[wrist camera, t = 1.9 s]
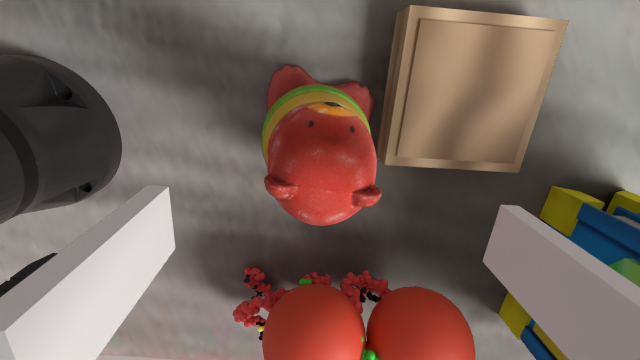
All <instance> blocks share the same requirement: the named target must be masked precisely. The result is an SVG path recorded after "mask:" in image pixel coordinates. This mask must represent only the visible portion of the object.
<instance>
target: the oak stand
mask: <svg viewBox="0 0 640 360" xmlns="http://www.w3.org/2000/svg"><path fill="white" fill-rule="evenodd" d="M568 23H569V20H563V19H552V18H542V17H531V16H521V15H511V14H500V13H490V12H479V11H469V10H458V9H448V8H438V7H427V6H417V5H409V6H408V7H406V8H404V9H402V10H400V11H398V12H397V16H396V22H395V29H394V36H393V43H392V49H391V56H390V63H389V70H388V76H387V83H386V90H385V97H384V103H383V110H382V117H381V124H380V131H379V137H378V144H377V151H376V154H377V155H378V157H379V158H380V159H381V161H382V162H383V163H384V165H394V166H411V167H428V168H445V169H461V170H478V171H495V172H512V173H519V170H520V167H521V164H522V161H523V158H524V155H525V152H526V149H527V146H528V143H529V140H530V137H531V134H532V131H533V128H534V125H535V122H536V119H537V116H538V113H539V110H540V107H541V104H542V101H543V98H544V95H545V92H546V89H547V86H548V83H549V80H550V77H551V74H552V71H553V68H554V65H555V62H556V59H557V56H558V53H559V50H560V47H561V44H562V41H563V38H564V35H565V32H566V29H567V26H568Z"/></svg>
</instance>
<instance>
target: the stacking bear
mask: <svg viewBox="0 0 640 360" xmlns="http://www.w3.org/2000/svg"><path fill="white" fill-rule="evenodd" d="M373 105H374V99H373V97H372V95H370V93H369V89H368V87H366V86H364V85H359V83H357V82H348V83H345V84H342V85H337V86H329V85H325V84H321V83H319V82H317V81H315V80H314V79H313V78H312V77H311V76H310V75H309V74H308V73H307V72H306V71H305V70H304V69H303V68H301V67H299V66H295V67H292V66H290V65H285V66H283V68H282V69H281V70H277V71H276V72H275V73H274V74H273V76H272V79H271V82H270V85H269V91H268V98H267V116H266V118H265V121H264V124H263V128H262V135H261V145H262V152H263V157H264V160H265V162H266V165H267V167H268V176H266V177H265V179H264V183H265V188H266V190H267V191H268V192H269V194H271V195H272V196H274V197H275V198H276V200H277V201H278V203H279V204H280V205H281V206H282V207H283V208H284V209H285V210H286V211H287V212H288V213H289V214H291V215H292V216H294V217H295V218H297V219H298V220H300V221H303V222H305V223H308V224H312V225H319V226H324V225H332V224H336V223H339V222H342V221H344V220H346V219H348V218H349V217H351V216H353V215H354V214H355V213H356V212H358V211H359V210H360V209H361V208H362V207H370V206H372V205H374V204H375V203H376V202H377V201H378V200H379V199H380V197H381V194H382V192H381V190H379V189H378V188H377V187H375V186H374V183H375V178H376V169H377V158H376V152H375V146H374V143H373V140H372V137H371V132H370V127H369V124H368V123H369V120H370V117H371V114H372V110H373Z"/></svg>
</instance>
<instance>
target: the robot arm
mask: <svg viewBox="0 0 640 360" xmlns="http://www.w3.org/2000/svg"><path fill="white" fill-rule="evenodd" d="M121 154H122V143H121V136H120V131H119V128H118V125H117V122H116V120H115V118H114V115H113V114H112V112H111V110H110V108H109V107H108V105H107V104H106V102H105V101H104V99H103V98H102V97H101V96H100V94H99V93H98V92H97V91H96V90H95V89H94V88H93V87H92V86H91V85H90V84H89V83H88V82H87V81H85V80H84V79H83V78H82V77H80V76H79V75H77V74H76V73H75V72H73V71H71V70H70V69H68V68H66V67H64V66H62V65H60V64H58V63H56V62H53V61H51V60H47V59H44V58H40V57H36V56H30V55H6V54H0V224H2V223H4V222H5V221H7V220H9V219H11V218H13V217H15V216H17V215H19V214H23V213H29V212H34V211H40V210H45V209H51V208H56V207H62V206H67V205H71V204H74V203H77V202H79V201H82V200H84V199H86V198H88V197H89V196H91V195H93V194H94V193H96V192H97V191H99V190H101V189H102V188H103V187H105V186H106V185H107V184H108V183H109V182H110V181H111V179H112V178H113V177H114V175H115V173H116V172H117V169H118V167H119V164H120V160H121ZM174 250H175V240H174V232H173V223H172V214H171V205H170V196H169V187H167V186H149V185H148V186H146V187H145V188H144V189H142V190H141V191H140V192H138V193H137V194H136V195H134V196H133V197H132V198H130V199H129V200H128V201H126V202H125V203H124V204H123V205H121V206H120V207H119V208H117V209H116V210H115V211H113V212H112V213H111V214H109V215H108V216H107V217H105V218H104V219H103V220H102V221H100V222H99V223H98V224H96V225H95V226H94V227H92V228H91V229H90V230H88V231H87V232H86V233H84V234H83V235H82V236H80V237H79V238H78V239H77V240H75V241H74V242H73V243H71V244H70V245H69V246H67V247H66V248H65V249H63V250H62V251H61V252H59V253H52V254H50V255H48V256H46V257H43V258H41V259H39V260H37V261H35V262H33V263H31V264H29V265H28V266H26V267H25V268H23V269H22V270H21V271H19V272H18V273H16V274H15V275H14V276H12V277H11V278H10V280H9V281H5V282H4V283H3V284H1V285H0V360H96V358H97V357H98V355H99V354H100V353H101V351H102V350H103V348H104V347H105V346H106V344H107V343H108V342H109V340H110V339H111V337H112V336H113V335H114V333H115V332H116V330H117V329H118V328H119V326H120V325H121V323H122V322H123V321H124V319H125V318H126V316H127V315H128V314H129V312H130V311H131V309H132V308H133V307H134V305H135V304H136V303H137V301H138V300H139V298H140V297H141V296H142V294H143V293H144V291H145V290H146V289H147V287H148V286H149V284H150V283H151V282H152V280H153V279H154V277H155V276H156V275H157V273H158V272H159V270H160V269H161V268H162V266H163V265H164V264H165V262H166V261H167V259H168V258H169V257H170V255H171V254H172V252H173V251H174ZM483 263H484V264H485V265H486V266H487V267H488V268H489V269H490V270H491V272H492V273H493V274H494V275H495V276H496V277H497V278H498V280H499V281H500V282H501V283H502V284H503V285H504V286H505V288H506V289H507V290H508V291H509V292H510V293H511V294H512V296H513V297H514V298H515V299H516V300H517V301H518V302H519V304H520V305H521V306H522V307H523V308H524V309H525V310H526V311H527V313H528V314H529V315H530V316H531V317H532V318H533V319H534V321H535V322H536V323H537V324H538V325H539V326H540V327H541V329H542V330H543V331H544V332H545V333H546V334H547V335H548V337H549V338H550V339H551V340H552V341H553V342H554V343H555V344H556V346H557V347H558V348H559V349H560V350H561V351H562V352H563V354H564V355H565V356H566V357H567V358H568V359H569V360H640V287H638V286H637V285H635V284H634V283H632V282H631V281H629V280H628V279H626V278H625V277H623V276H622V275H620V274H619V273H617V272H616V271H614V270H613V269H612V268H610V267H609V266H607V265H606V264H604V263H603V262H601V261H600V260H598V259H597V258H595V257H594V256H592V255H591V254H589V253H588V252H586V251H585V250H583V249H582V248H581V247H579V246H578V245H576V244H575V243H573V242H572V241H570V240H569V239H567V238H566V237H564V236H563V235H561V234H560V233H558V232H557V231H555V230H554V229H552V228H551V227H550V226H548V225H547V224H545V223H544V222H542V221H541V220H539V219H538V218H536V217H535V216H533V215H532V214H530V213H529V212H527V211H526V210H524V209H523V208H521V207H520V206H516V205H500V208H499V211H498V215H497V218H496V221H495V224H494V227H493V230H492V233H491V236H490V240H489V243H488V246H487V249H486V252H485V255H484V258H483Z"/></svg>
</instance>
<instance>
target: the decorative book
mask: <svg viewBox="0 0 640 360" xmlns="http://www.w3.org/2000/svg"><path fill="white" fill-rule="evenodd" d="M604 204H605V203H604V202H602V201H600V200H598V199H596V198H593V197H591V196H589V195H587V194H585V193H583V192H580V191H575V190H570V189H566V188H561V187H556V186H552V187H551V190H550V192H549V195H548V197H547V199H546V202H545V204H544V207H543V209H542V211H541V214H540V216H539V218H541V219H542V220H544V221H545V222H547V223H548V224H547V225H548V226H550V227H551V228H552V229H554V230H555V231H557V232H558V233H560V234H561V235H563V236H564V237H566V238H567V239H569V240H570V241H572V242H573V243H575V244H576V245H578V246H579V247H581V248H582V249H583V250H585V251H586V252H588V253H589V254H591V255H592V256H594V257H595V258H597V259H598V260H600V261H601V262H603V263H604V264H606V265H607V266H609V267H610V268H612V269H613V270H614V271H616V272H617V273H619V274H620V275H622V276H623V277H625V278H626V279H628V280H629V281H631V282H632V283H634V284H635V285H637V286H638V287H640V196H638V195H636V194H633V193H631V192H628V191H626V190H623V191H619V192H616V193H615V195H614V197H613V198H612V200H611V202H610V204H609V206H608V208H607V210H606V212H604V211H602V208H603V206H604ZM499 315H500V317H501V318H502V319H503V321H504V322H505V323H506V325H507V326H508V327H509V328H510V330H511V331H512V332H513V334H514V335H515V336H516V338H517V339H518V340H522V342H523V343H524V344H525V345H526V347H527V348H528V349H529V351H530V352H531V353H532V354H533V356H534V357H535V358H536V360H569V359H568V358H567V357H566V356H565V355H564V354H563V352H562V351H561V350H560V349H559V348H558V347H557V346H556V344H555V343H554V342H553V341H552V340H551V339H550V338H549V337H548V335H547V334H546V333H545V332H544V331H543V330H542V329H541V327H540V326H539V325H538V324H537V323H536V322H535V321H534V319H533V318H532V317H531V316H530V315H529V314H528V313H527V311H526V310H525V309H524V308H523V307H522V306H521V305H520V304H519V302H518V301H517V300H516V299H515V298H514V297H513V296H512V294H511V293H510V292H509V291H508V293H507V295H506V297H505V300H504V302H503V304H502V307H501V309H500V312H499Z"/></svg>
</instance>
